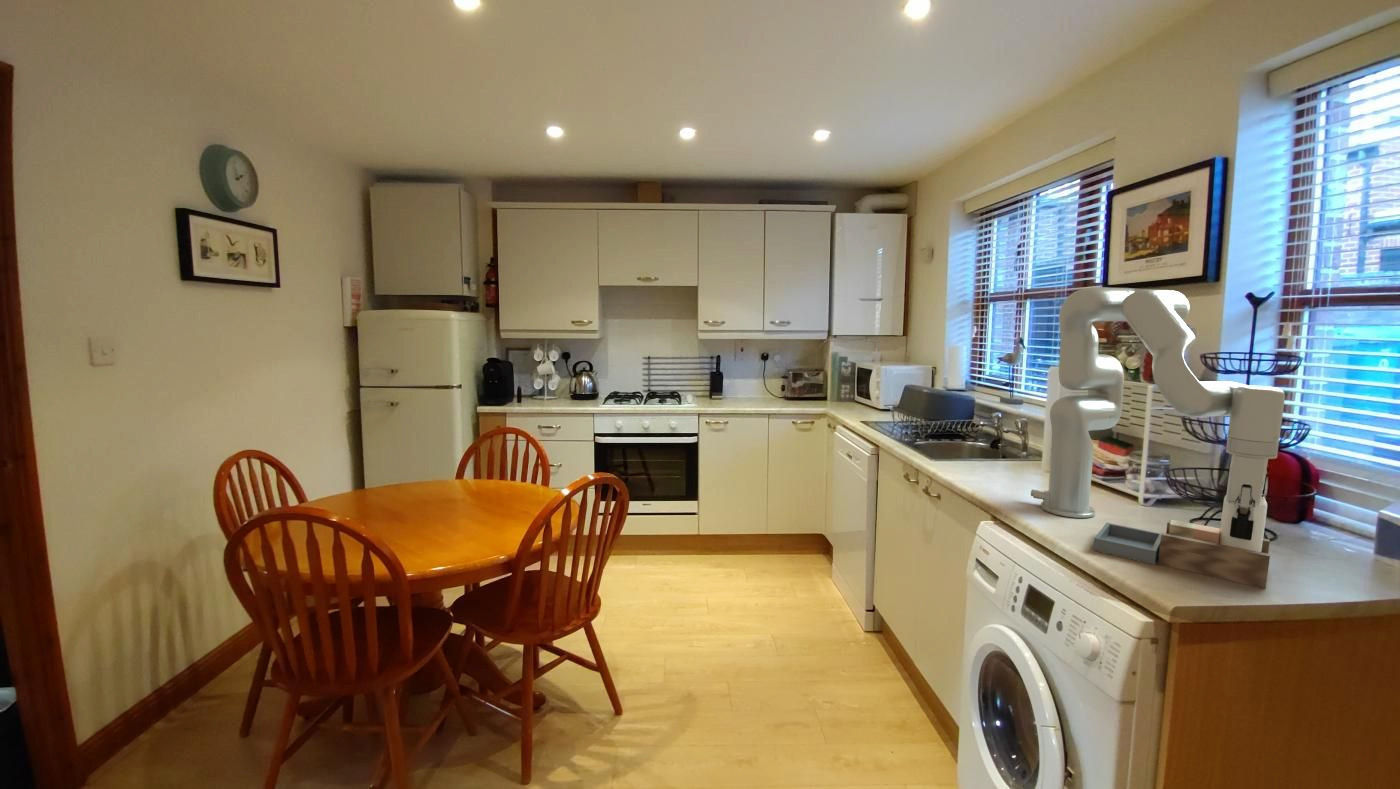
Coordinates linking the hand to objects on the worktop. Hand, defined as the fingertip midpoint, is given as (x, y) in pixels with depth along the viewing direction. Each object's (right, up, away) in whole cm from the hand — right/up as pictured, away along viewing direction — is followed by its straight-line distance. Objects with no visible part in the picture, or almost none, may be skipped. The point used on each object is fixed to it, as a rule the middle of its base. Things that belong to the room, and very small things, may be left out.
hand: (1240, 532), depth 119 cm
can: (0, -4, 0) cm, 4 cm away
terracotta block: (-4, -4, +4) cm, 7 cm away
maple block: (-7, -4, +7) cm, 10 cm away
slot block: (-3, -8, +4) cm, 9 cm away
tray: (-13, -7, +13) cm, 20 cm away
